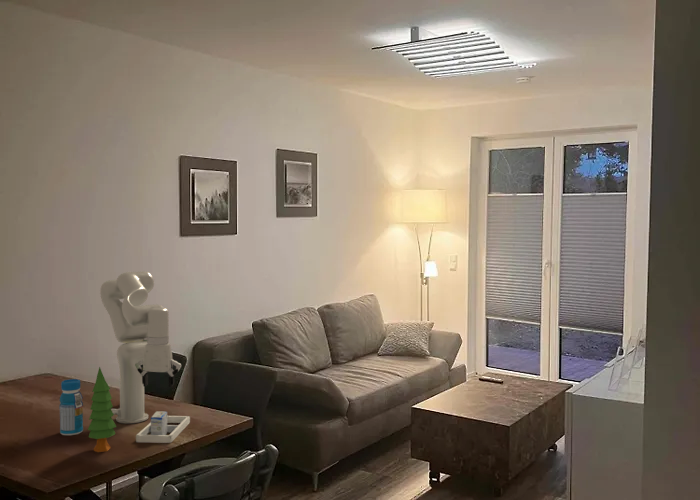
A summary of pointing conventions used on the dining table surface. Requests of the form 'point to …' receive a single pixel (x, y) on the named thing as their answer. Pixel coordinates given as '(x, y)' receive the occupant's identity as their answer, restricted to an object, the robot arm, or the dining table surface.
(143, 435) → the rectangular frame
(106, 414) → the decorative tree
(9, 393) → the dining table surface
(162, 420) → the medicine box
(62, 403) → the beverage bottle
